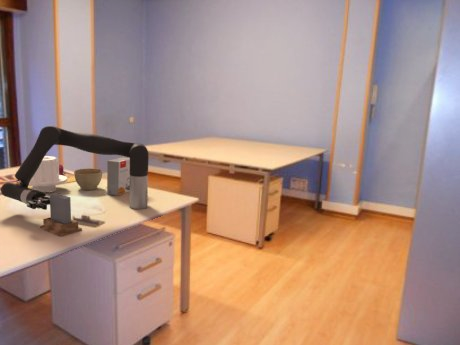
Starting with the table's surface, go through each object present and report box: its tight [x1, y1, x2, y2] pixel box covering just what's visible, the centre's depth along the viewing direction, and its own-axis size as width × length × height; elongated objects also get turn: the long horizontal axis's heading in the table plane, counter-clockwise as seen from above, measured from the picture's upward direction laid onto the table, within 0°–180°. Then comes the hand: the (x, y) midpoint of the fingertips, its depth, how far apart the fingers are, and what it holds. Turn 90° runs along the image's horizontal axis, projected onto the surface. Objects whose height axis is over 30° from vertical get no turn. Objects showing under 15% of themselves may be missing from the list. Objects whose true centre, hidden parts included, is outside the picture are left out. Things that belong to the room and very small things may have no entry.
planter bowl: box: [73, 167, 104, 191], centre depth 233 cm, size 16×16×11 cm
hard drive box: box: [106, 156, 130, 197], centre depth 228 cm, size 16×8×20 cm, turn 161°
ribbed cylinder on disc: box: [18, 155, 68, 193], centre depth 223 cm, size 25×25×19 cm
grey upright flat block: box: [49, 192, 72, 225], centre depth 165 cm, size 10×3×14 cm, turn 57°
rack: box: [39, 216, 83, 238], centre depth 167 cm, size 15×10×4 cm, turn 57°
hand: (55, 205), depth 166 cm, fingers open, 8 cm apart
